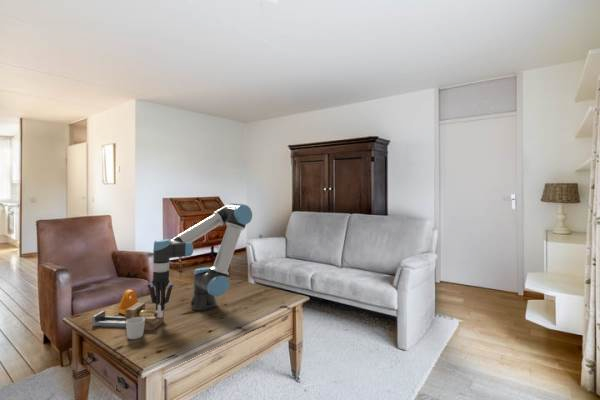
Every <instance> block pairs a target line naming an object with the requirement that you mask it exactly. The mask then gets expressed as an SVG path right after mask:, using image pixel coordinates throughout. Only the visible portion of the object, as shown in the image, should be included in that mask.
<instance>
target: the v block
mask: <svg viewBox="0 0 600 400" xmlns="http://www.w3.org/2000/svg"><path fill="white" fill-rule="evenodd" d="M91 319H92V320H91V321H92V322H91V323H92V326H91V327H95V326H101V327H102V328H103V327H104V328H122V329H123V328H125V329H126V318H125V316H114V315H113V316H111V315H106V310H101V311H99V312H98V313H96V314H94V315H93V316H92V318H91ZM101 327H100V328H101Z"/></svg>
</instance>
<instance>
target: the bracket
mask: <svg viewBox="0 0 600 400" xmlns="http://www.w3.org/2000/svg"><path fill="white" fill-rule="evenodd" d="M138 302H139V299H138V293H137V292H136V291H134V290H133V289H126V290H125V291H124V292H123V294H122V297H121V300H120V302H119V305H118V307H117V312H118V313H120V314H122V316H123V315H124V316H125V312H126V309H128V308H130V307H131V306H133V305H134V304H136V303H138Z"/></svg>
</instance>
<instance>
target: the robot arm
mask: <svg viewBox="0 0 600 400" xmlns="http://www.w3.org/2000/svg"><path fill="white" fill-rule="evenodd" d="M252 219H253V211H252V209H251V207H249V205H247V204H244V203H228V204H226V205H224V206H222V207H220V208H219V209H217V210H215V211H214V212H213V213H212V214H211V215H210V216H208V217H206V218H205V219H203V220H202V221H200V222H198V223H197V224H194V225H193V226H191V227H189V228H188V229H186V230H185V231H183V232H181V233H179V234H177V235H176V236H175V237H173V238H168V239H167V238H166V239H157V240H155V241H154V242H153V251H152V252H153V256H152V257H153V259H152V260H153V261H152V262H153V263H152V264H153V265H152V266H153V267H152V270H153V272H152V281H151V282H150V283H148V284H147V288H148V290H149V295H150V299H151V303H152V304H155V311H158V314H157V318H161V317H162V316H163V311H165V307H166V304H168V303H169V301H170V299H171V294H172V290H173V288H174V287H175V284H174V283H171V281H170V271H169V270H170V259H175V258H184V257H190V256H192V255H193V253H194V245H193V242H195V241H197V240H198V239H200V238H201V237H203V236H204V235H206V234H208V233H209V232H211V231H212V230H214V229H215V228H217V227H218V226H224V225H226V229H225V232H224V234H223V238H222V240H221V243H220V245H219V249H218V251H217V254H216V257H215V259H214V262H213V265H212V266H210V267H200V268H195V270H194V272H193V295H192V297H191V301H190V303H189V307H190V309H191V310H193V311H199V310H202V311H208V310H207V309H209V310H212V309H211V308H213V309H214V307H215V306H216V307H217V303H218V301H217V299H216V297H220V296H222V295H224V294H226V292H227V291H228V290H229V288H230V281H229V275H230V272H229V268H230V264H231V261H232V259H233V256H234V253H235V250H236V247H237V243H238V241H239V238H240V234H241V232H242V231H243V230H245V228H246V226H247V225H248V224H249V223H251V221H252ZM167 287H168V288H167ZM166 289H167V291H166ZM216 307H215V308H216Z"/></svg>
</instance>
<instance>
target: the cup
mask: <svg viewBox="0 0 600 400" xmlns="http://www.w3.org/2000/svg"><path fill="white" fill-rule="evenodd" d="M144 324H145V319H144V318H142V317H135V318H131V319H128V320H127V321H126V328H125V330H126V337H127V339H129V340H139V339H140V338H142V337H143V336H144V331H145V330H144Z"/></svg>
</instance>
